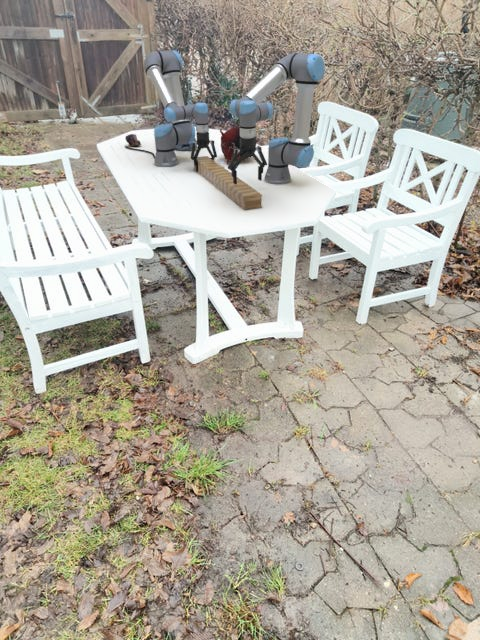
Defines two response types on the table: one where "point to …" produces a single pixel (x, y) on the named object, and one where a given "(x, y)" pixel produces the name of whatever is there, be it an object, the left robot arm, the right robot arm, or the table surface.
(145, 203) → the table surface
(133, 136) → the rock
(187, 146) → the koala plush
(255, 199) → the long beam
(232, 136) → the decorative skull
